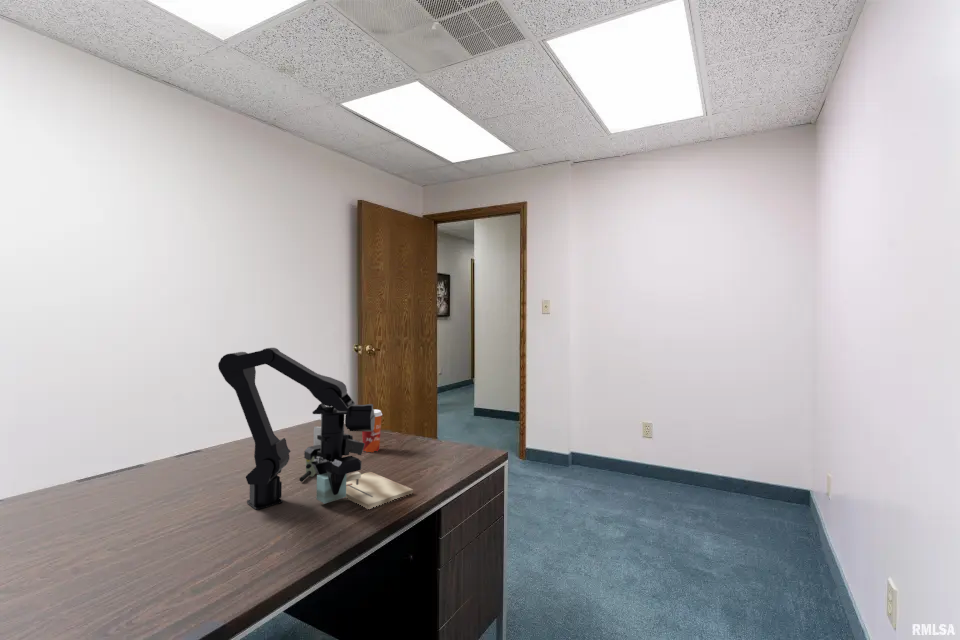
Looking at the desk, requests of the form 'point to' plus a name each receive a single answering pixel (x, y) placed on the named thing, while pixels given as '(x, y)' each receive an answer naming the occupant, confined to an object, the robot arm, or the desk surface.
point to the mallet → (326, 492)
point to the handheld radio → (308, 469)
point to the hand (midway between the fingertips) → (331, 492)
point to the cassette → (316, 432)
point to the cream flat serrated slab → (374, 490)
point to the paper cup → (373, 434)
